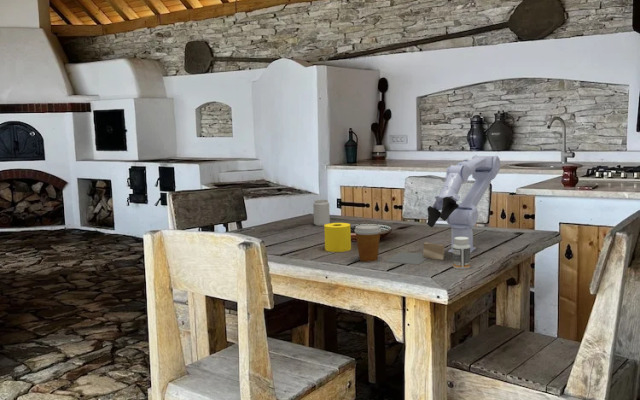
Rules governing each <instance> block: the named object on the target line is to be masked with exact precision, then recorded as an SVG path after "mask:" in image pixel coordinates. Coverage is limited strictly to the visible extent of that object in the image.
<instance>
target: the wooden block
mask: <svg viewBox="0 0 640 400" xmlns="http://www.w3.org/2000/svg"><path fill="white" fill-rule="evenodd" d="M445 245H446V244H439V243H433V242H432V243H431V242H426V241H425V242H424V243H423V253H422V254H423V257H426V258H427V259H431V260H432V259H435V260H444V259H445V249H446V246H445Z"/></svg>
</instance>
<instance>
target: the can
mask: <svg viewBox="0 0 640 400" xmlns="http://www.w3.org/2000/svg"><path fill="white" fill-rule="evenodd" d="M312 209H313V224H314V225H315V226H316V227H324V225H325V224H330V223H331V219H330V218H331V216H330V202H328V199H315V200H314V202H313V206H312Z"/></svg>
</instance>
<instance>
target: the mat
mask: <svg viewBox="0 0 640 400" xmlns="http://www.w3.org/2000/svg"><path fill="white" fill-rule="evenodd" d="M427 260H428V258H426V257H423V253H418V252H405V251H400V252H398V253H397V254H395V255H393V256H392V257H390V258H388V259H387V260H385V263H389V264H391V263H392V264H404V265H416V266H417V265H418V266H420V265H421V264H422V263H423V262H425V261H427Z"/></svg>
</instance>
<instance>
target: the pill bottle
mask: <svg viewBox="0 0 640 400" xmlns="http://www.w3.org/2000/svg"><path fill="white" fill-rule="evenodd" d="M454 242H455V244H454V245H453V252H452V267H453V268H454V269H458V270H459V269H460V270H467V269H470V268H471V265H472V264H471V253H470V245H469V244H468V242H469V238H468V237H455V238H454Z"/></svg>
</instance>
